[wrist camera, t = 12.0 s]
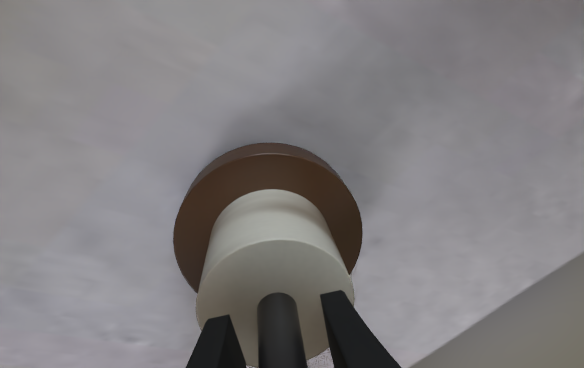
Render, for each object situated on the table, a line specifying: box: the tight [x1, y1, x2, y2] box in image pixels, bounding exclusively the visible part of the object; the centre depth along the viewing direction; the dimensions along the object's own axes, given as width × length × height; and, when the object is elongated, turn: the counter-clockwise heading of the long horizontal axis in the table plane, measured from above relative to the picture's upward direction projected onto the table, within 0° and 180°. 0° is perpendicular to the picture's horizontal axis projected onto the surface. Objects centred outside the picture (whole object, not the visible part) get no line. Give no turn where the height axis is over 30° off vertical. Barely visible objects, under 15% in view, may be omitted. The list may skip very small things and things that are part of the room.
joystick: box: [173, 143, 362, 368], centre depth 10 cm, size 11×8×8 cm
